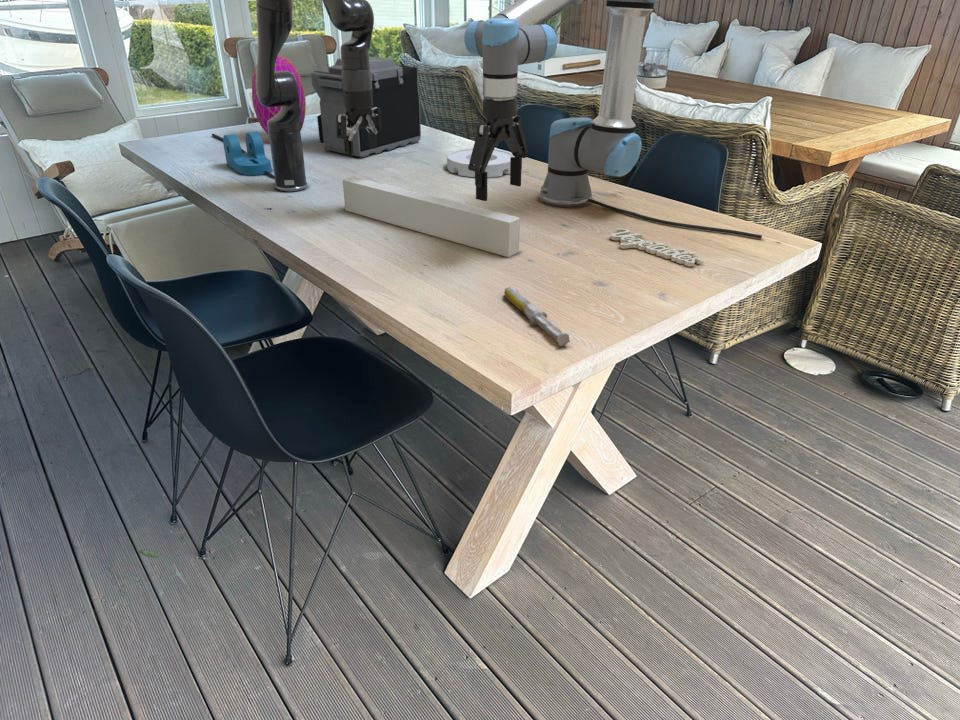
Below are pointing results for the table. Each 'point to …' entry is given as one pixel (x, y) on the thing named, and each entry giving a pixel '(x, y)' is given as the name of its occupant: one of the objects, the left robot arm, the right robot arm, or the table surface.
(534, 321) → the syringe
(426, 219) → the bar
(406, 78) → the electronic device
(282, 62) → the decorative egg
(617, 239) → the decorative sign
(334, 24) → the left robot arm
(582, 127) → the right robot arm
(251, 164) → the camera mount
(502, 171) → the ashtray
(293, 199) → the table surface
